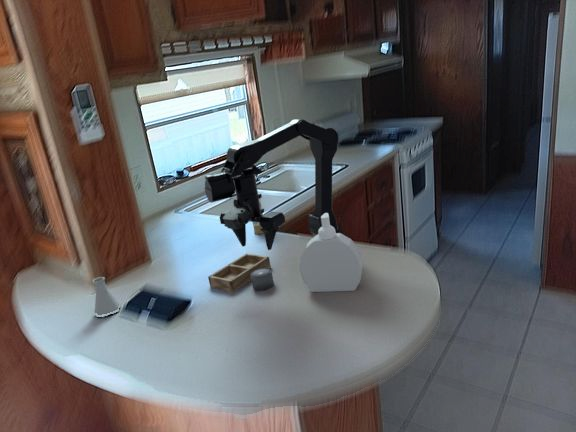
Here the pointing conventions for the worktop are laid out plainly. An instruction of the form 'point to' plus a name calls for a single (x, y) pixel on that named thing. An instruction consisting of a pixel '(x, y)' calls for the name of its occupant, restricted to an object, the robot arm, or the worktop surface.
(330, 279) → the soap bottle
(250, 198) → the robot arm
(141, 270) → the worktop surface
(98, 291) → the flask
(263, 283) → the lid
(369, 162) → the worktop surface
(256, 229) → the sprinkles bottle
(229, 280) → the holder
